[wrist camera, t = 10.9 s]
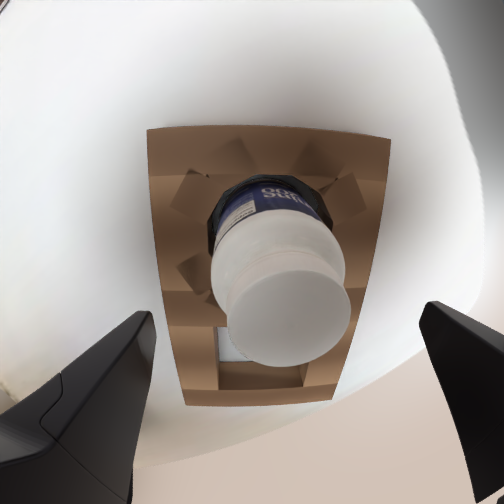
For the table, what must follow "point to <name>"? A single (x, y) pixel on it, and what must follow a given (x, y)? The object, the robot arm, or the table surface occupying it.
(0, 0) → the supplement bottle
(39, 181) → the table surface
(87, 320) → the table surface
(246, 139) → the socket block
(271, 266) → the pill bottle
